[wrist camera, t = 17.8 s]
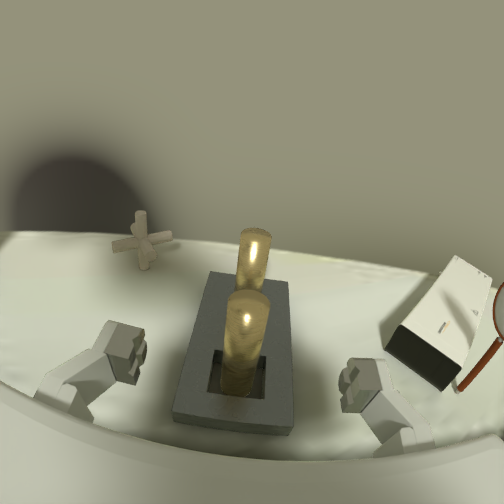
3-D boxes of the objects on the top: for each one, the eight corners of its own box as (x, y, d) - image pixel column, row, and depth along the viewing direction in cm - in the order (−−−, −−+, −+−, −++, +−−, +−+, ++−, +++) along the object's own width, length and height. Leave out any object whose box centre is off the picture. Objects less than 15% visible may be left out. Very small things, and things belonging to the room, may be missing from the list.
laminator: (438, 395, 32) (462, 368, 29) (375, 349, 39) (393, 319, 36) (480, 300, 52) (493, 278, 49) (440, 274, 60) (450, 251, 57)
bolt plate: (288, 435, 27) (326, 365, 20) (173, 421, 27) (160, 344, 20) (285, 294, 48) (302, 220, 41) (209, 284, 47) (214, 208, 41)
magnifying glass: (473, 412, 28) (561, 303, 18) (466, 416, 28) (558, 305, 17) (446, 370, 35) (517, 259, 25) (439, 373, 35) (511, 259, 25)
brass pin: (213, 385, 32) (218, 302, 25) (234, 368, 34) (246, 284, 27) (237, 404, 30) (252, 324, 23) (258, 384, 33) (278, 303, 26)
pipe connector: (162, 246, 55) (161, 196, 50) (182, 276, 48) (182, 220, 43) (111, 257, 50) (104, 206, 44) (123, 291, 43) (115, 233, 38)
